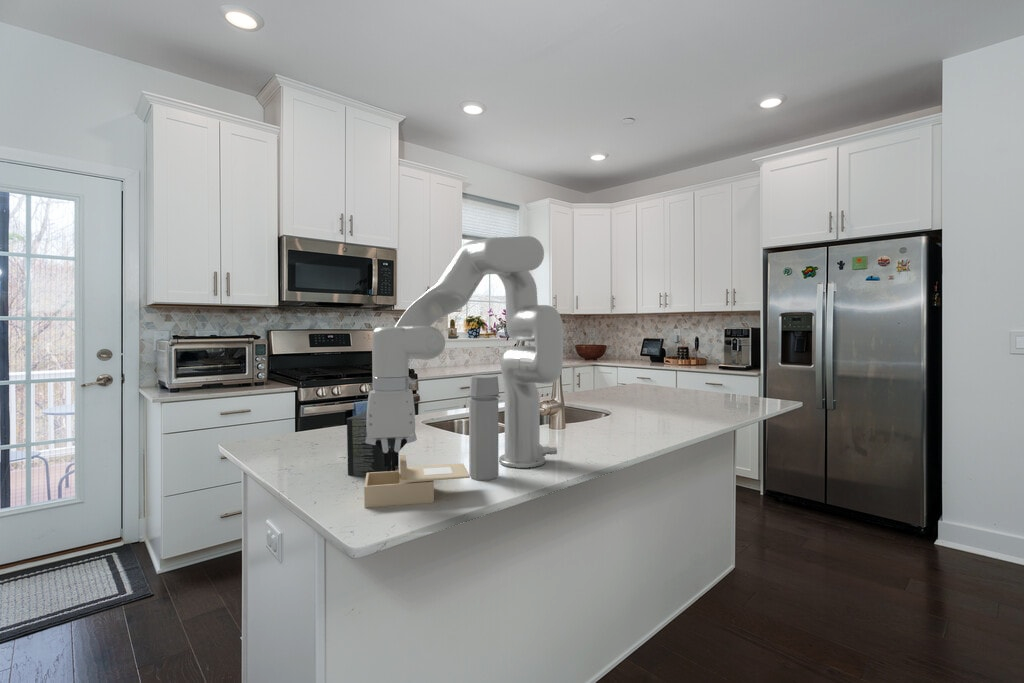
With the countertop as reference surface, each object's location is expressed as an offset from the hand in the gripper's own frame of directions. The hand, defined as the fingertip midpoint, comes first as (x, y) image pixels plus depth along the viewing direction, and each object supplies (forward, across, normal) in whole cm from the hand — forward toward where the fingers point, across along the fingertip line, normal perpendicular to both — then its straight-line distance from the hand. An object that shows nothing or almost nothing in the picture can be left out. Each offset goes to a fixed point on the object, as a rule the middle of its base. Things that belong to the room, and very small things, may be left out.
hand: (391, 469), depth 110 cm
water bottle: (+7, -23, -11) cm, 26 cm away
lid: (+2, -9, 0) cm, 9 cm away
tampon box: (+7, +4, -22) cm, 23 cm away
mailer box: (+6, -2, 0) cm, 7 cm away
